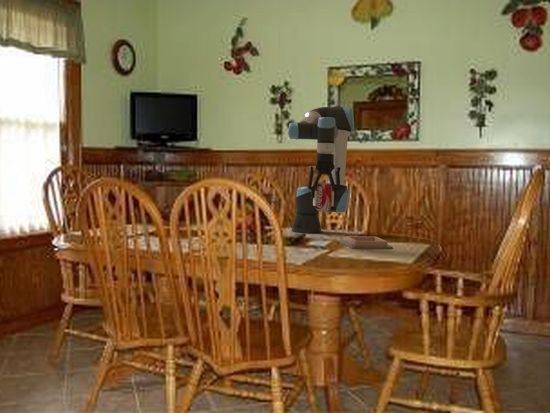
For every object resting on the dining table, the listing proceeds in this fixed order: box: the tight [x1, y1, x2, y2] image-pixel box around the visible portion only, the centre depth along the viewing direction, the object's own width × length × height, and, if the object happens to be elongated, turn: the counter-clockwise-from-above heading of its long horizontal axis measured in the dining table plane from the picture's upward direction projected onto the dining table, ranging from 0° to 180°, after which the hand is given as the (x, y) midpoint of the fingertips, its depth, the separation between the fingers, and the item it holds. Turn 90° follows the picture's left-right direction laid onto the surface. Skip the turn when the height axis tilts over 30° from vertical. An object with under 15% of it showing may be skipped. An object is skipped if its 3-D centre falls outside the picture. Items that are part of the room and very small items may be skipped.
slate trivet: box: [339, 235, 394, 250], centre depth 254 cm, size 18×18×3 cm
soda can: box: [315, 182, 332, 212], centre depth 253 cm, size 7×7×12 cm
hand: (323, 205), depth 254 cm, fingers closed on soda can, 7 cm apart
